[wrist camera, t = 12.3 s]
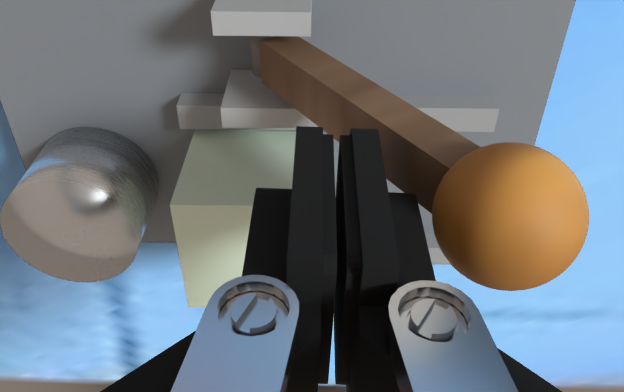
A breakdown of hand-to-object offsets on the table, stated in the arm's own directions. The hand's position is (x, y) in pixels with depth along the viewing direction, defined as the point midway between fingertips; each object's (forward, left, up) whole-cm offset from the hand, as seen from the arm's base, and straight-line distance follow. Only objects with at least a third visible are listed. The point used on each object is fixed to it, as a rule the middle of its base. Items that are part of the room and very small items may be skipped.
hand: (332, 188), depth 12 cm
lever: (-1, -2, -5) cm, 6 cm away
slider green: (+4, -2, -6) cm, 8 cm away
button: (+4, -8, -6) cm, 11 cm away
